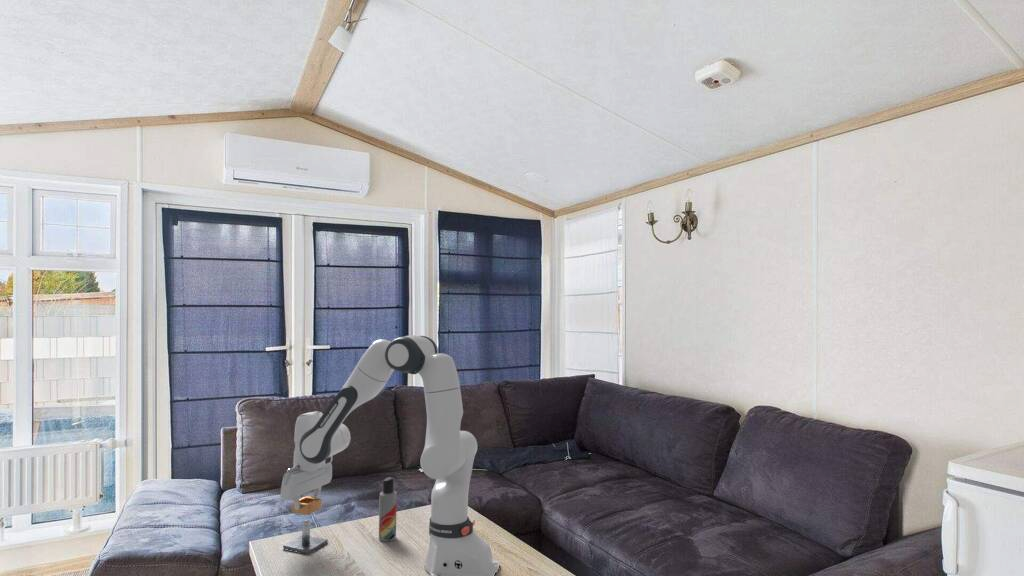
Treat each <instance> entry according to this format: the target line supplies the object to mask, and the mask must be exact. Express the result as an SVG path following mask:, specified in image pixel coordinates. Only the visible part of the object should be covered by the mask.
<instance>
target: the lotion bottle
mask: <svg viewBox="0 0 1024 576" xmlns="http://www.w3.org/2000/svg"><path fill="white" fill-rule="evenodd" d="M397 492H398V491H395V478H394V477H386V478H384V479H382V491H380V493H379V499H378V500H379V505H378V507H379V508H378V510H379V511H378V512H379V513H378V540H379V541H380V542H391V541H394V540H396V537H397V512H398V511H397V506H398V505H397V504H398V503H397V501H398V500H397V499H398V494H397Z"/></svg>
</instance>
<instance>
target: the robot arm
mask: <svg viewBox="0 0 1024 576" xmlns="http://www.w3.org/2000/svg"><path fill="white" fill-rule="evenodd" d="M394 371H397V372H400V373H404V374H409V375H417V374H418V375H419V376H420V377H421V381H422V384H423V385H422V386H423V394H424V400H425V401H424V402H425V403H424V404H425V410H426V430H425V440H424V441H425V442H424V447H423V450H422V453H421V456H420V460H419V461H420V467H421V469H422V472H423V473H424V475H426V476H427V477H428V478H430V479H432V480H435V482H434V486H433V488H432V490H431V494H430V495H431V499H430V501H431V503H430V507H431V508H430V517H429V523H428V524H429V525H428V527H429V528H428V529H429V530H428V533H429V542H428V551H427V555H426V560H425V563H424V569H425V571H426V572H427V573H428V574H429V576H493V575H495V573H496V572H497V571H498V569H499V570H500V568H499V565H500V561H499V560H498V559H495V558H493V554H492V553H493V552H492V548H491V545H490V544H489V543H488V542H486V541H485V540H484V538H482V537H481V536H480V535H479V534H478V533H477V532H475V530H474V525H476V520H475V519H474V520H473V521H472V520H471V519H470V517H469V516H468V513H469V512H468V506H469V490H470V483H471V478H472V472H473V467H474V462H475V461H474V460H475V456H476V454H477V451H478V441H477V439H476V437H475V436H474V434H472V432H470V431H467V430H461V423H462V419H463V416H464V408H463V400H462V392H461V391H462V390H461V384H460V379H459V375H458V374H459V373H458V370H457V368H456V363H455V361H454V358H453V357H452V356H451V355H449V354H446V353H440V352H439V350H438V346H437V344H436V342H435V341H434V340H433V339H432V338H431V337H428V336H425V335H413V334H411V335H410V334H409V335H405V336H400V337H397V338H394V339H393V340H392V341H390V340H388V339H383V338H382V339H381V338H379V339H377V340H375V341H373V342H372V344H371V345H369V347H368V348H367V349H366V350H365V352H364V353H363V354H362V355H361V357H360V358H359V361H358V362H357V363H356V365H355V367H354V369H353V370H352V372H351V373H350V375H349V377H348V379H346V382H344V384H343V385H342V387H341V389H340V390H339V392H338V393H337V394H336V396H335V397H334V398H333V399H332V400H331V402H330V404H329V405H328V407H327V408H326V409H325V411H324V412H322V411H318V410H317V411H316V410H313V411H310V412H309V411H308V412H305V413H302V414H299V416H298V417H296V421H295V425H294V434H293V435H294V437H293V441H294V451H293V467H291V468H288V469H287V470H286V472H285V473H284V474H283V477H282V481H281V486H280V498H281V499H282V500H286V501H292V502H293V503H294V509H295V510H299V509H301V508H302V503H300V502H299V499H301V496H302V495H305V494H307V493H310V492H312V491H313V493H312V495H311V496H310V497H313V498H319V499H320V497H319V495H320V493H321V491H322V487H323V486H326V485H328V484H330V483H331V480H332V478H333V465H332V462H333V456H335V455H337V454H338V453H340V452H343V451H344V450H346V449H347V448H348V447H349V446H350V443H351V441H352V435H351V430H350V429H349V427H348V426H347V425H346V424H344V421H346V419H347V417H348V416H349V415H350V414H351V413H352V412H353V411H354V410H356V409H357V408H358V407H360V406H362V405H363V404H366V403H367V402H369V401H371V400H373V399H374V398H375V397H377V396H378V395H379V393H380V392H381V391H382V390H383V389H384V388H385V386H386V384H387V383H388V381H389V379H390V377H391V376H392V374H393V373H394ZM495 565H497V566H495ZM498 572H499V571H498ZM498 572H497V573H498ZM495 576H496V575H495Z"/></svg>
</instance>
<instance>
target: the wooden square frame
mask: <svg viewBox="0 0 1024 576" xmlns="http://www.w3.org/2000/svg"><path fill="white" fill-rule="evenodd" d="M322 500H323V499H322V498H320V497H319V498H313V497H311V496H307V495H306V496H303V497H300V499H299V502H300V503H302V508H301V509H299V510H295V509H294V503H293V501H292V502H291V513H296V514H300V515H306V516H308V515H310V514H312V513H315V512H317V511H318V510H321V509H322Z"/></svg>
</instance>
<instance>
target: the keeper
mask: <svg viewBox="0 0 1024 576" xmlns="http://www.w3.org/2000/svg"><path fill="white" fill-rule="evenodd" d="M301 526H302V527H301V528H302V529H301V535H299V537H296V538H295V539H293V540H291V541H289V542H287V543H285V544H284V545H283V546H282V548H284V549H288V550H292V551H291V552H293V551H297V552H296V553H298V552H300V553H299V554H303V553H304V555H307V554H308V555H311V554H312V553H314V552H316V551H317V550H319V549H320V548H322V547H325V546H326V545H327V544H328V539H326V538H321V537H318V536H317V537H316V536H311V521H310V520H309V519H305V520H303V522H302V524H301ZM288 550H287V551H288ZM310 553H311V554H310Z"/></svg>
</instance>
